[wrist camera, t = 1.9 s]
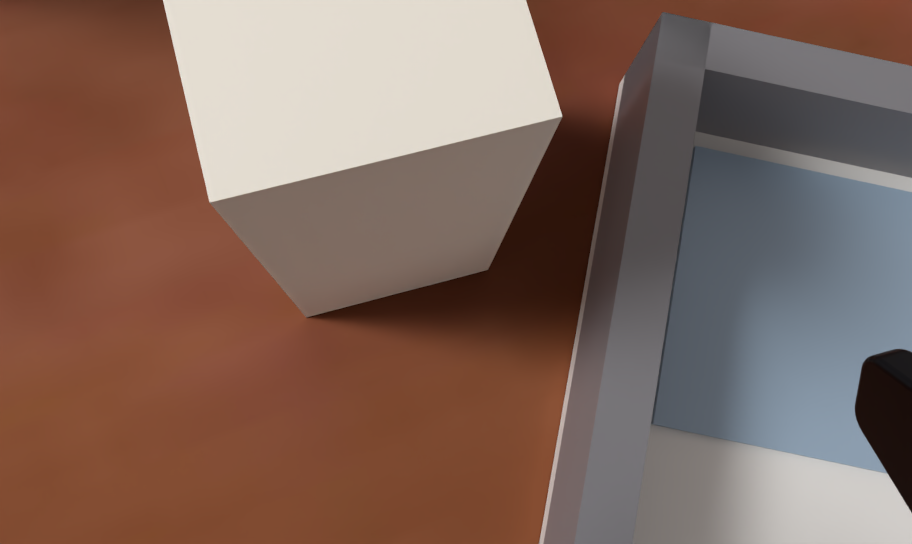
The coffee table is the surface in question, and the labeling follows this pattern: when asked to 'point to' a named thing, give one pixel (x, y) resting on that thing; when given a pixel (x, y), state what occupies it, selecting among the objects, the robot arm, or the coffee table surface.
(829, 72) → the arena
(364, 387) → the coffee table surface
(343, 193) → the block
